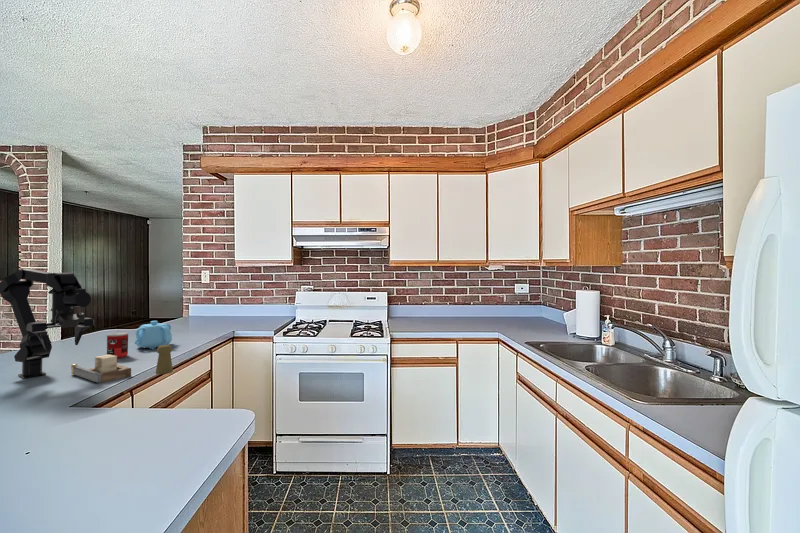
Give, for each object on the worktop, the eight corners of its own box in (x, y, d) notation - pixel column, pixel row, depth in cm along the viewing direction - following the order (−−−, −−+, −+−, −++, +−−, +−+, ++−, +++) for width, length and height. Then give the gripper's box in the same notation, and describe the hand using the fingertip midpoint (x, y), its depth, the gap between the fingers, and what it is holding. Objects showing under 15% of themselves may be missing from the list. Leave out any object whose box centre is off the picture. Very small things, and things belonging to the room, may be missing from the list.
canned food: (104, 356, 181) (105, 333, 181) (125, 354, 187) (125, 331, 187) (108, 359, 176) (109, 335, 176) (129, 357, 182) (130, 333, 182)
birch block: (94, 377, 150) (95, 357, 150) (108, 374, 154) (109, 354, 154) (102, 379, 147) (102, 358, 147) (116, 376, 152) (116, 355, 152)
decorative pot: (167, 349, 199) (168, 322, 199) (130, 351, 194) (131, 323, 194) (174, 343, 214) (175, 318, 214) (140, 344, 209) (141, 319, 209)
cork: (169, 369, 163) (169, 343, 163) (175, 372, 159) (175, 345, 159) (153, 372, 159) (153, 345, 158) (158, 375, 155) (159, 347, 155)
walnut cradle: (86, 377, 150) (86, 369, 150) (115, 371, 159) (115, 363, 159) (101, 382, 144) (101, 374, 144) (131, 375, 153) (131, 368, 153)
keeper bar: (70, 373, 153) (70, 364, 152) (75, 372, 154) (76, 363, 154) (96, 382, 142) (96, 373, 142) (102, 381, 143) (102, 372, 143)
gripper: (38, 309, 135) (38, 354, 135) (101, 305, 151) (100, 345, 151) (26, 307, 140) (25, 350, 141) (87, 303, 157) (87, 342, 157)
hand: (61, 347), depth 147 cm, fingers open, 9 cm apart
